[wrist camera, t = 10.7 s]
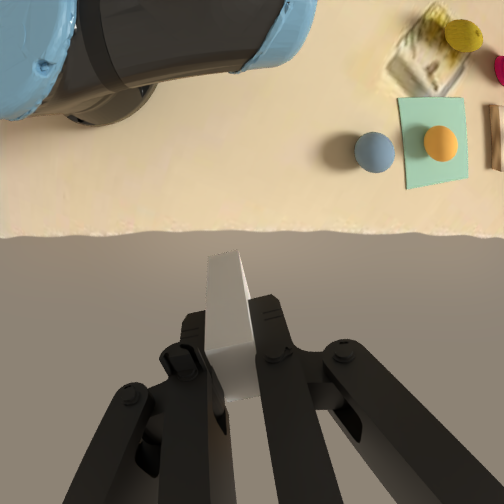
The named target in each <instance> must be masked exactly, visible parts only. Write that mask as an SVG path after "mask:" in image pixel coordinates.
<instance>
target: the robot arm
mask: <svg viewBox="0 0 504 504" xmlns="http://www.w3.org/2000/svg"><path fill="white" fill-rule="evenodd" d="M316 6H317V0H0V119H6V120H9V121H15V120H16V121H19V120H22V119H24V118H26V117H35V116H45V115H56V114H64V115H65V116H66V117H68V118H69V119H70V120H72V121H74V122H76V123H79V124H83V125H87V126H101V125H109V124H113V123H116V122H119V121H122V120H124V119H126V118H128V117H129V116H131V115H132V114H134V113H135V112H136V111H138V110H139V109H140V108H141V107H142V106H143V105H144V104H145V103H146V102H147V100H148V99H149V98H150V96H151V95H152V93H153V92H154V90H155V88H156V86H157V84H158V83H159V82H164V81H170V80H175V79H181V78H187V77H193V76H200V75H207V74H215V73H223V72H228V73H230V74H239V73H241V72H245V71H246V70H252V69H262V68H272V67H277V66H279V65H281V64H284V63H286V62H287V61H289V60H291V59H292V58H293V57H294V56H295V55H296V54H297V52H298V51H299V50H300V48H301V47H302V45H303V44H304V42H305V40H306V38H307V36H308V33H309V31H310V28H311V25H312V22H313V18H314V15H315V11H316ZM207 267H208V268H207V288H206V310H204V311H199V312H194V313H190V314H188V315H187V316H186V318H185V319H184V321H183V322H182V328H181V337H180V339H181V340H180V342H178V343H174V344H172V345H170V346H169V347H167V348H166V349H165V350H164V351H163V352H162V353H161V355H160V357H159V360H160V362H161V364H162V366H163V367H164V369H165V371H166V373H167V374H168V376H169V377H168V379H167V380H166V381H164V382H162V383H160V384H158V385H156V386H153V387H151V388H148V389H147V387H146V386H145V385H143V384H141V383H138V382H135V383H129V384H126V385H124V386H123V387H121V388H120V389H119V390H118V391H117V392H116V394H115V396H114V397H113V399H112V401H111V403H110V405H109V407H108V409H107V411H106V413H105V415H104V417H103V418H102V420H101V423H100V425H99V426H98V429H97V430H96V433H95V434H94V437H93V439H92V441H91V443H90V445H89V447H88V449H87V451H86V453H85V455H84V457H83V459H82V462H81V464H80V466H79V468H78V470H77V472H76V474H75V477H74V479H73V481H72V483H71V485H70V487H69V490H68V492H67V494H66V496H65V499H64V501H63V503H62V504H237V503H236V492H235V482H234V472H233V461H232V449H231V437H230V425H229V414H228V411H227V408H226V406H225V401H224V396H225V398H226V400H227V402H232V401H237V400H243V399H248V398H253V397H257V396H261V402H262V408H263V413H264V419H265V426H266V432H267V438H268V444H269V450H270V455H271V462H272V467H273V473H274V479H275V485H276V490H277V496H278V501H279V504H343V500H342V497H341V493H340V490H339V487H338V484H337V480H336V477H335V473H334V470H333V467H332V464H331V460H330V457H329V454H328V450H327V447H326V444H325V440H324V437H323V434H322V431H321V427H320V424H319V421H318V418H317V414H316V411H315V410H328V412H329V413H330V414H331V416H332V417H333V419H334V420H335V421H336V423H337V424H338V425H339V427H340V428H341V430H342V431H343V432H344V434H345V435H346V436H347V438H348V439H349V440H350V442H351V443H352V444H353V446H354V447H355V449H356V450H357V451H358V453H359V454H360V455H361V456H362V458H363V459H364V461H365V462H366V463H367V464H368V466H369V467H370V469H371V470H372V471H373V473H374V474H375V475H376V477H377V478H378V479H379V480H380V482H381V483H382V484H383V486H384V487H385V488H386V490H387V491H388V492H389V493H390V495H391V496H392V497H393V499H394V500H395V501H396V503H397V504H504V487H503V486H502V485H501V484H500V482H498V480H497V479H496V478H495V477H494V476H493V475H492V474H491V473H490V472H489V471H488V470H487V469H486V468H485V467H484V466H483V465H482V464H481V463H480V462H479V461H478V460H477V459H476V458H475V457H474V456H473V455H472V454H471V453H470V452H469V451H468V450H467V449H466V448H465V447H464V446H463V445H462V444H461V443H460V442H459V441H458V440H457V439H456V438H455V437H454V436H453V435H452V434H451V433H450V432H449V431H448V430H447V429H446V428H445V427H444V426H443V425H442V424H441V423H440V422H439V421H438V420H437V419H436V418H435V417H434V416H433V415H432V414H431V413H430V412H429V411H428V410H427V409H426V408H425V407H424V406H423V405H422V404H421V403H420V402H419V401H418V400H417V399H416V398H415V397H414V396H413V395H412V394H411V393H410V392H409V391H408V390H407V389H406V388H405V387H404V386H403V385H402V384H401V383H400V382H399V381H398V380H397V379H396V378H395V377H394V376H393V375H392V374H391V373H390V372H389V371H388V370H387V369H386V368H385V367H384V366H383V365H382V364H381V363H380V362H379V361H378V360H377V359H376V358H375V357H374V356H373V355H372V354H371V353H370V352H369V351H368V350H367V349H366V348H365V347H364V346H363V345H361V344H360V343H358V342H357V341H354V340H350V339H341V340H337V341H334V342H332V343H330V344H329V345H328V346H327V347H326V348H325V350H324V351H323V352H308V351H304V350H301V349H299V348H297V347H296V346H295V345H294V344H293V342H292V340H291V337H290V333H289V330H288V327H287V324H286V321H285V318H284V314H283V311H282V308H281V306H280V302H279V300H278V299H277V298H276V297H274V296H273V295H272V294H270V295H267V296H262V297H258V298H254V299H251V298H250V294H249V290H248V286H247V282H246V278H245V274H244V270H243V266H242V262H241V258H240V255H239V251H238V250H234V251H230V252H226V253H222V254H217V255H213V256H209V257H208V266H207Z"/></svg>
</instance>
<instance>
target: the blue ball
mask: <svg viewBox="0 0 504 504" xmlns="http://www.w3.org/2000/svg"><path fill="white" fill-rule="evenodd" d="M394 157H395V150H394V147H393V144H392V142H391V141H390V140H389V139H388V138H387V137H386V136H385V135H383V134H381V133H377V132H369V133H366V134H364V135H363V136H361V137H360V138H359V139H358V141H357V143H356V145H355V158H356V160H357V162H358V164H359V165H360V166H361V167H362V168H363V169H365V170H366V171H368V172H372V173H380V172H383V171H385V170H387V169H388V168H389V167H390V166H391V165H392V163H393V161H394Z"/></svg>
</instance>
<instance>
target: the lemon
mask: <svg viewBox="0 0 504 504" xmlns="http://www.w3.org/2000/svg"><path fill="white" fill-rule="evenodd" d="M445 38H446V40H447V42H448V43H449V45H450V46H451V47H452V48H454V49H456V50H457V51H460V52H473V51H475V50H477V49H479V48H480V47H481V45H482V43H483V36H482V33H481V31H480V29H479V28H478V27H477V26H476V25H475V24H474V23H472V22H471V21H468V20H462V19H460V20H454V21H451V22H450V23H448V24H447V26H446V28H445Z"/></svg>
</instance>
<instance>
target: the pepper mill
mask: <svg viewBox="0 0 504 504" xmlns="http://www.w3.org/2000/svg"><path fill="white" fill-rule="evenodd" d="M495 72H496V76H497V78H498V80H499V82H500V83H501V84H502V85H503V86H504V56H498V57H497V58H496V60H495Z"/></svg>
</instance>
